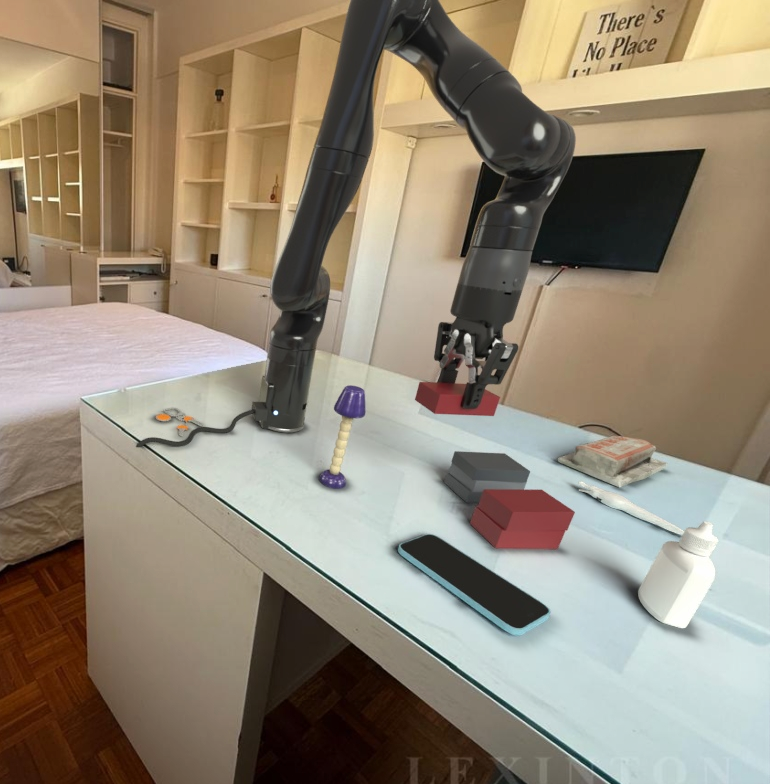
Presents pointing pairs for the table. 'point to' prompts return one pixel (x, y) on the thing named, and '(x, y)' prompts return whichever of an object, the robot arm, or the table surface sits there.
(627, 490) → the table surface
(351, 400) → the toy lamp
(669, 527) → the white toothbrush
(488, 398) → the burgundy paperback
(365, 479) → the table surface
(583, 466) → the packaged product
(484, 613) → the smartphone
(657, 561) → the eye dropper bottle
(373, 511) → the table surface
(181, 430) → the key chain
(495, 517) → the burgundy book stack
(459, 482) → the grey book pile
